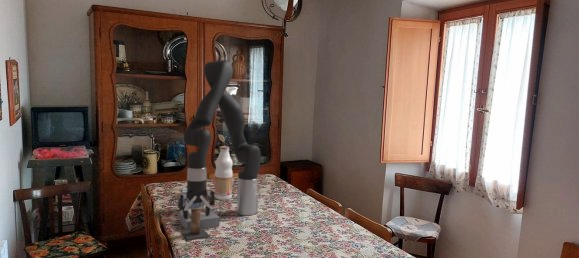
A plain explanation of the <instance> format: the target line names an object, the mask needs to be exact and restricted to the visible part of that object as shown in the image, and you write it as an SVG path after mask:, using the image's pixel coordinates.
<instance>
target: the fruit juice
mask: <svg viewBox="0 0 579 258" xmlns="http://www.w3.org/2000/svg"><path fill="white" fill-rule="evenodd" d="M219 150H220V152H219V154H218V157H217V159H216V160H215V171H214V190H213V191H214V199H216V200H220V201H225V200H230V199H232V197H233V169H232V168H233V164H234V162H233V159H232V157H231V155H230V147H229V146H227V145H222V146H219Z"/></svg>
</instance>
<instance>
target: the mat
mask: <svg viewBox="0 0 579 258" xmlns="http://www.w3.org/2000/svg"><path fill="white" fill-rule="evenodd" d="M180 233H181V235H183V237H184V239H185V241H192V240H193V241H194V240H198V239H205V238H210V235H209V234H208V232H207V231H206V230H205V228H204V229H203V228H200V234H198V235H192V234H191V230H186V229H185V230H182V231H181V232H180Z"/></svg>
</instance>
